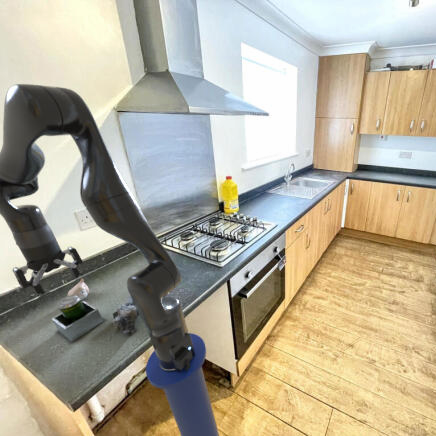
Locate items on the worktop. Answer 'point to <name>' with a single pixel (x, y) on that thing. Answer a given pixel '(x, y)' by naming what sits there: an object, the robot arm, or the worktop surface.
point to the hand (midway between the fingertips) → (60, 284)
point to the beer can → (72, 308)
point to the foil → (125, 317)
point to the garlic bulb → (80, 290)
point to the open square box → (78, 323)
